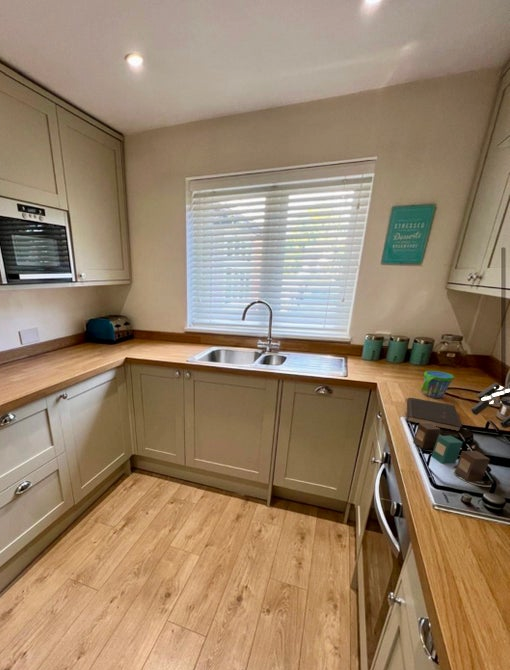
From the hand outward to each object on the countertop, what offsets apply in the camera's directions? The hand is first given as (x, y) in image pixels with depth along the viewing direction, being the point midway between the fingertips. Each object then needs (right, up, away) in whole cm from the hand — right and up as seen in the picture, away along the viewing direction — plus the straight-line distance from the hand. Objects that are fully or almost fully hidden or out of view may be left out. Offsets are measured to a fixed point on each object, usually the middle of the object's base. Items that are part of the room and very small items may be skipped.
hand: (487, 418), depth 90 cm
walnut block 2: (-9, -16, -3) cm, 19 cm away
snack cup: (+26, +7, +57) cm, 63 cm away
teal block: (-9, -13, +4) cm, 17 cm away
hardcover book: (+10, -1, +36) cm, 38 cm away
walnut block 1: (-10, -10, +12) cm, 18 cm away
